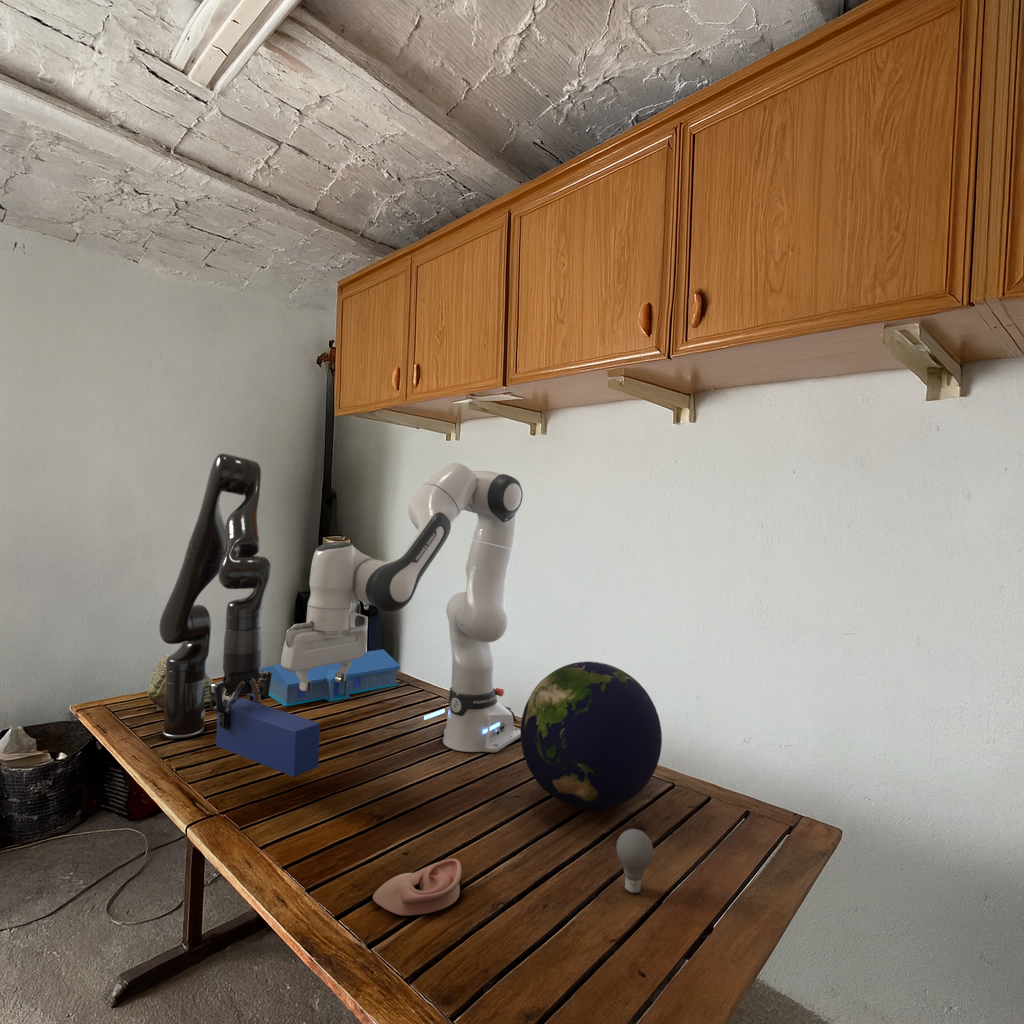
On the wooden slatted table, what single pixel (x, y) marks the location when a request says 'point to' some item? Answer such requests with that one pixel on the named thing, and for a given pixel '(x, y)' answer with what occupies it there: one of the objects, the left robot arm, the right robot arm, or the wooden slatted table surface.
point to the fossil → (158, 686)
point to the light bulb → (634, 857)
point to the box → (271, 737)
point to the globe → (591, 735)
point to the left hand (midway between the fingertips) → (239, 724)
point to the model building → (360, 677)
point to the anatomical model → (421, 889)
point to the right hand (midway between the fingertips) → (323, 685)
